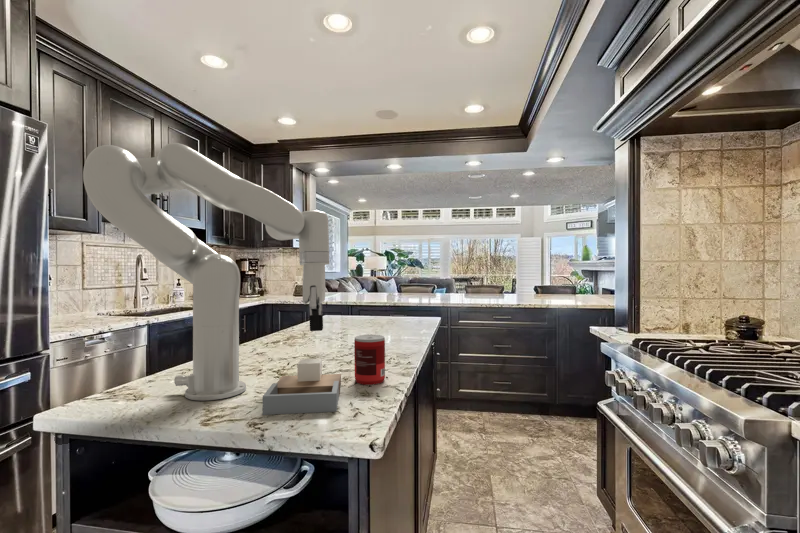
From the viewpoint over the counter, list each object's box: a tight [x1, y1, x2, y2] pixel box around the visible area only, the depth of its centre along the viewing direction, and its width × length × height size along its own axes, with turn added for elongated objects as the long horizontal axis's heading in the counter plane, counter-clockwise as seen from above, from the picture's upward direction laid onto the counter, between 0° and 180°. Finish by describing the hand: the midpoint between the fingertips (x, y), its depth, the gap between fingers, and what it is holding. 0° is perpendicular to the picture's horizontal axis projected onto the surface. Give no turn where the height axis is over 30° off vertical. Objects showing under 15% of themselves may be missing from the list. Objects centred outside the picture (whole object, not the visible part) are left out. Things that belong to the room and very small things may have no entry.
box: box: [262, 381, 340, 416], centre depth 79 cm, size 14×9×4 cm, turn 96°
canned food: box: [353, 334, 386, 386], centre depth 98 cm, size 8×8×11 cm
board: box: [276, 373, 342, 394], centre depth 89 cm, size 14×10×2 cm
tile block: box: [296, 357, 323, 382], centre depth 91 cm, size 5×5×4 cm
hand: (316, 330), depth 100 cm, fingers closed
